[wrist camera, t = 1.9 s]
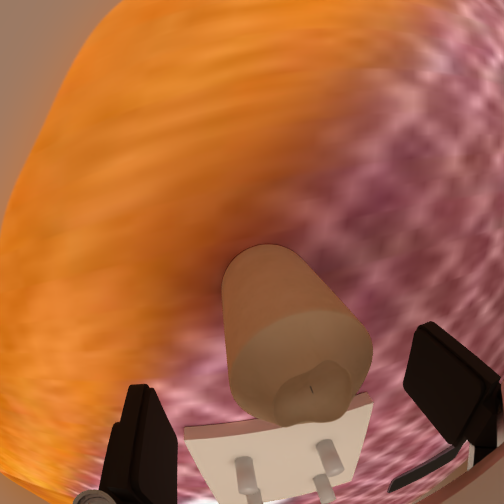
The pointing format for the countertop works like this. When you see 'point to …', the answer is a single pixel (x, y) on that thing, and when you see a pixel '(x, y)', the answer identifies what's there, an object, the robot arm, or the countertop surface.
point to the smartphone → (424, 468)
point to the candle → (290, 340)
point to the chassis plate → (279, 456)
